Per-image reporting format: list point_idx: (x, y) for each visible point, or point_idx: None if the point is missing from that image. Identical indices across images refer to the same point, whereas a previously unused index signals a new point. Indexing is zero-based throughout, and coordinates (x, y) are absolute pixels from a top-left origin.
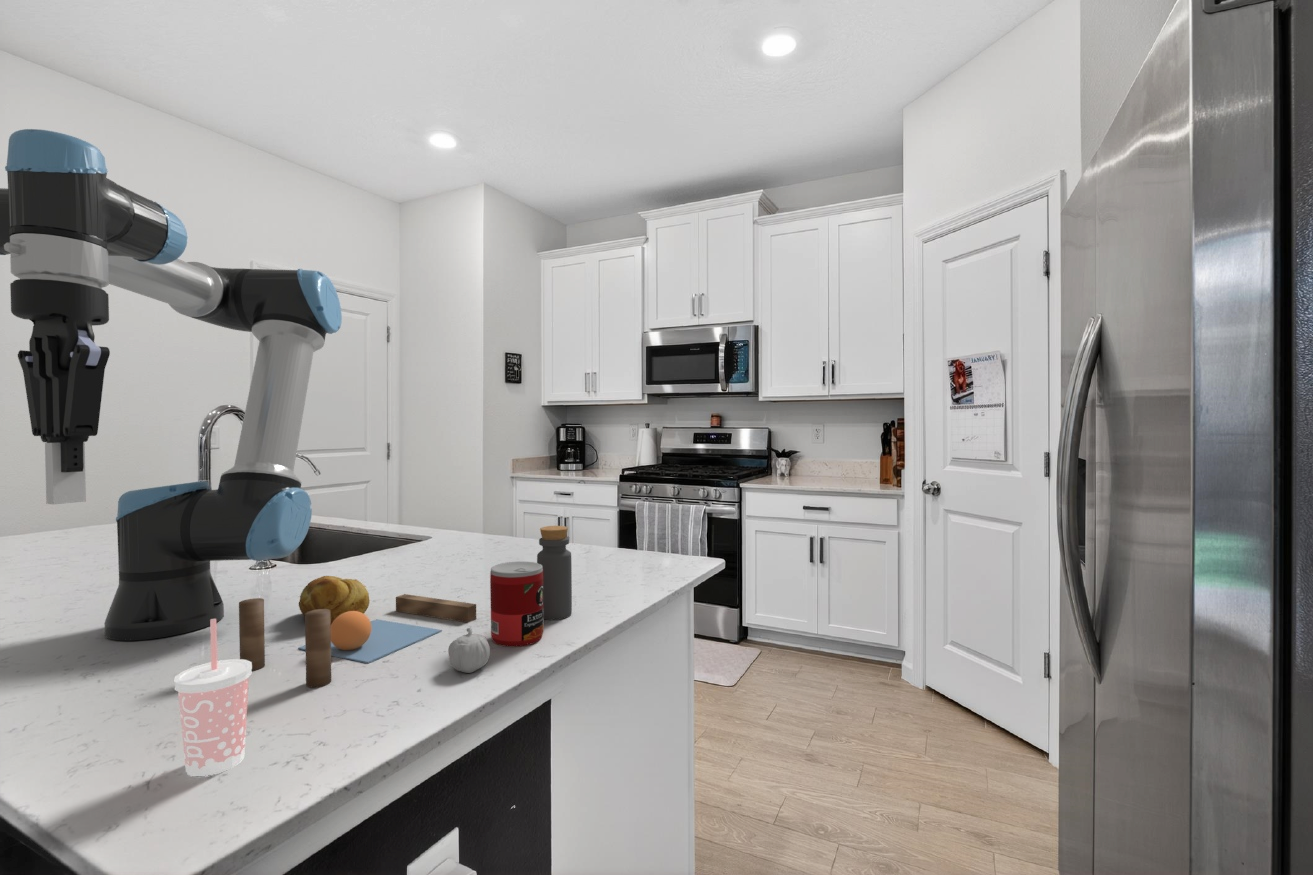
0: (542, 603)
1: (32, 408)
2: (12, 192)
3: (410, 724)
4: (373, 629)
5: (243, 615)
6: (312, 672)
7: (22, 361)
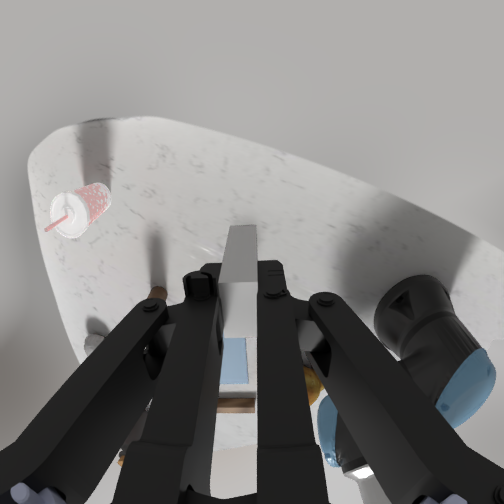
0: None
1: (354, 345)
2: None
3: (60, 275)
4: (227, 370)
5: None
6: (151, 293)
7: (483, 480)
